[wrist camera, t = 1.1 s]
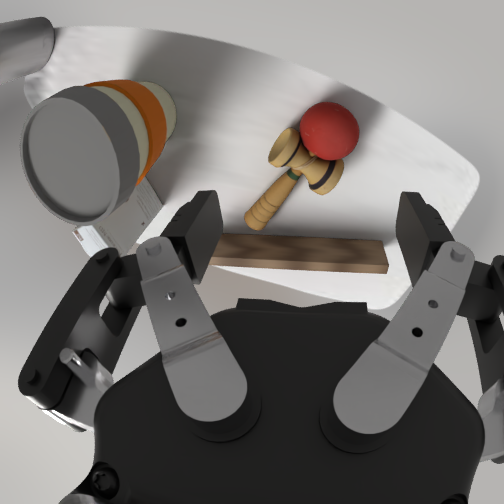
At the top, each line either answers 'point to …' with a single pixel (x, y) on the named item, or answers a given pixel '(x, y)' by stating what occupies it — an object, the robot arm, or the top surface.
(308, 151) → the kendama
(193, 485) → the robot arm
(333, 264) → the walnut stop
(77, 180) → the reusable coffee cup
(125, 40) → the top surface
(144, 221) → the skincare box
